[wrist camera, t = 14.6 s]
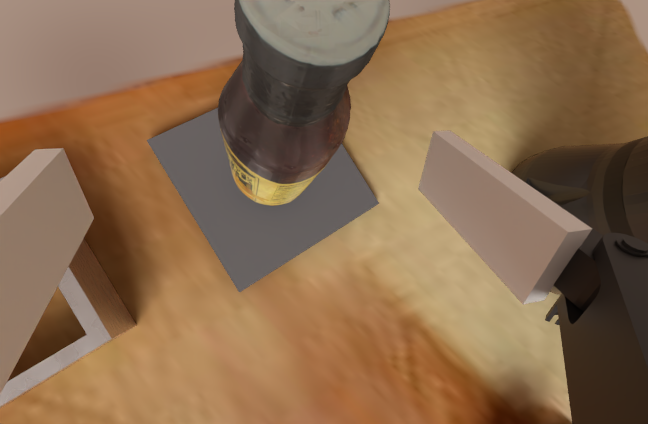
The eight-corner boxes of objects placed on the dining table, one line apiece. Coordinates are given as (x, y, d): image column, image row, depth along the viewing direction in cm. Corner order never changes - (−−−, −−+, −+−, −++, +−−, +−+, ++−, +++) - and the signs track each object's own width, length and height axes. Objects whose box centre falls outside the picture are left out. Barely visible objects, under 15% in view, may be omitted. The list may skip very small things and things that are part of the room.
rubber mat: (295, 77, 30) (297, 71, 29) (374, 205, 30) (379, 203, 29) (150, 144, 27) (146, 140, 26) (239, 291, 26) (239, 292, 25)
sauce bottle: (231, 137, 27) (174, -169, 8) (305, 137, 28) (412, -124, 9) (234, 215, 26) (180, 86, 7) (311, 211, 28) (443, 94, 8)
